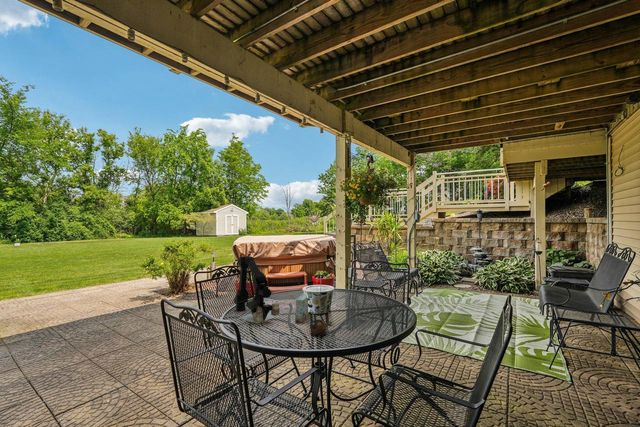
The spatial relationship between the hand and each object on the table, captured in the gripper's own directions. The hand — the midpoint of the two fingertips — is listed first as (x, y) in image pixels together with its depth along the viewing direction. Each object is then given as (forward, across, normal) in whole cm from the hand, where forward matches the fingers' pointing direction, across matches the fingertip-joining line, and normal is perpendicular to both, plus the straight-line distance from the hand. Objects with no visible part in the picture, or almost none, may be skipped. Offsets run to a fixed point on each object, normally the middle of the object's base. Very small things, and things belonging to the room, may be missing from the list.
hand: (259, 319), depth 186 cm
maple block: (+1, 0, 0) cm, 1 cm away
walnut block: (+1, -11, +10) cm, 15 cm away
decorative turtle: (+2, +41, +7) cm, 42 cm away
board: (+2, -6, +7) cm, 9 cm away
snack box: (+2, +18, +23) cm, 29 cm away
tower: (+1, 0, +15) cm, 15 cm away
